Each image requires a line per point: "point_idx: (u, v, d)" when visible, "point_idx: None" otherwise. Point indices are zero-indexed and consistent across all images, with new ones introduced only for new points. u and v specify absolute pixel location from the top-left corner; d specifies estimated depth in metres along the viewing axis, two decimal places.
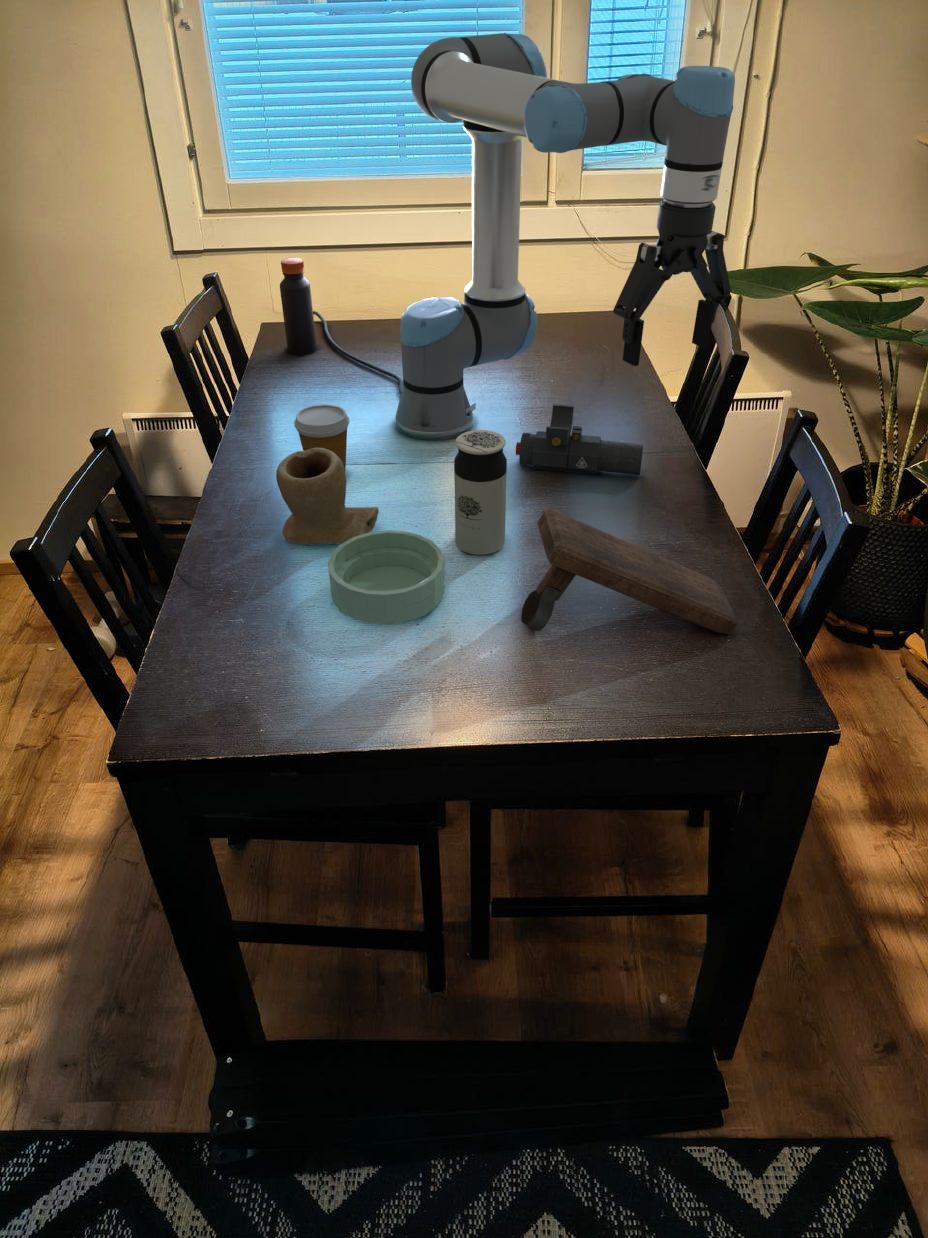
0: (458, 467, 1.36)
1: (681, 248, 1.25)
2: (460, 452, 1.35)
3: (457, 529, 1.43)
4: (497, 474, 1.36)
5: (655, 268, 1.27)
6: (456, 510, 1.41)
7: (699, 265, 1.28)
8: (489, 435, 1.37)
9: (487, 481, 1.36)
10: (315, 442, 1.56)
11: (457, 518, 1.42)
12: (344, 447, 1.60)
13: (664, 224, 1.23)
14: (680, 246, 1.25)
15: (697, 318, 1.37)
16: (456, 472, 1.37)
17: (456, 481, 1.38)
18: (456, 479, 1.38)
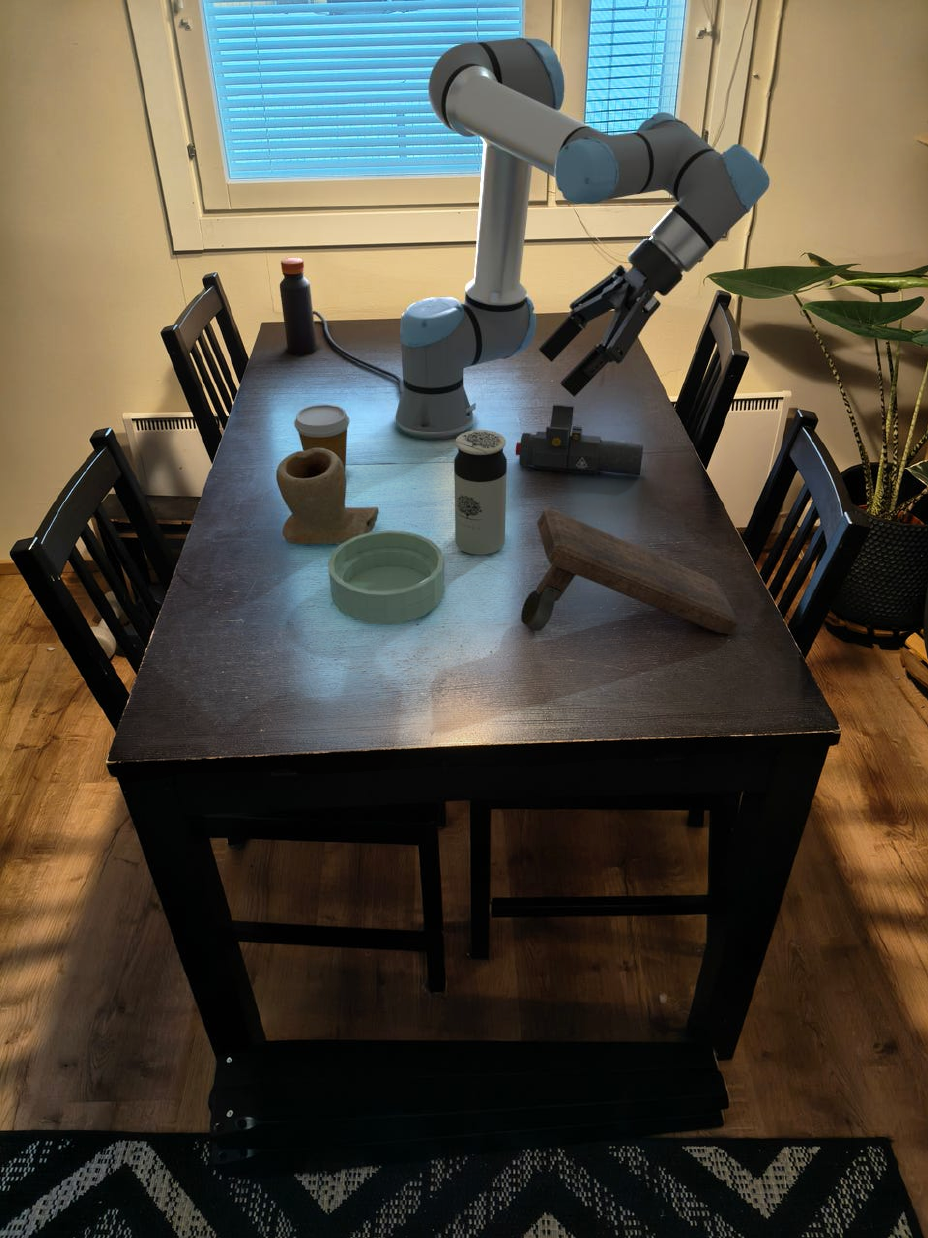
0: (458, 467, 1.36)
1: None
2: (460, 452, 1.35)
3: (457, 529, 1.43)
4: (497, 474, 1.36)
5: (626, 309, 1.24)
6: (456, 510, 1.41)
7: None
8: (489, 435, 1.37)
9: (487, 481, 1.36)
10: (315, 442, 1.56)
11: (457, 518, 1.42)
12: (344, 447, 1.60)
13: (661, 278, 1.22)
14: None
15: (559, 332, 1.35)
16: (456, 472, 1.37)
17: (456, 481, 1.38)
18: (456, 479, 1.38)
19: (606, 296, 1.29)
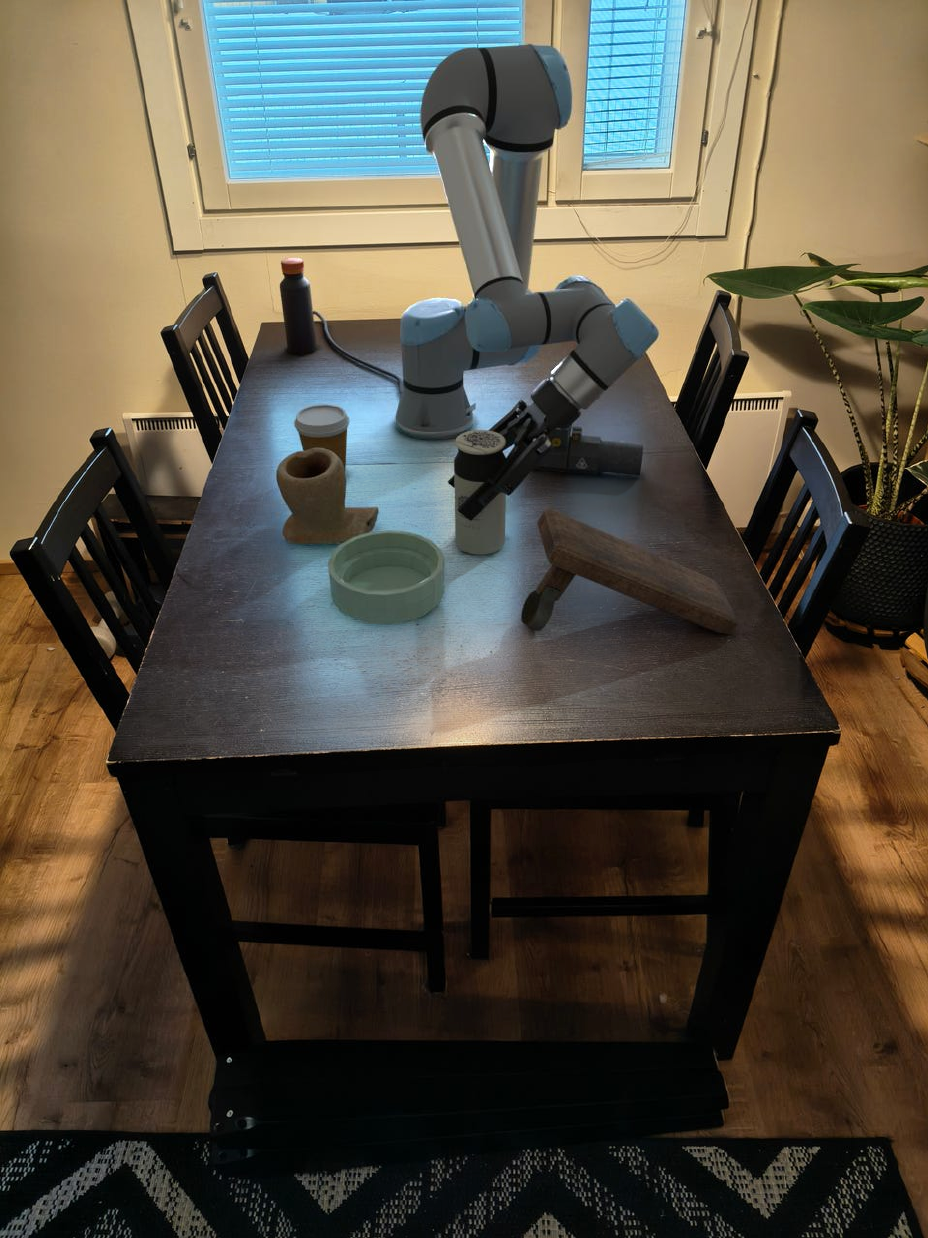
0: (458, 467, 1.36)
1: None
2: (460, 452, 1.35)
3: (457, 529, 1.43)
4: None
5: (524, 445, 1.34)
6: (456, 510, 1.41)
7: None
8: (489, 435, 1.37)
9: None
10: (315, 442, 1.56)
11: (457, 518, 1.42)
12: (344, 447, 1.60)
13: (559, 417, 1.32)
14: None
15: None
16: (456, 472, 1.37)
17: (456, 481, 1.38)
18: (456, 479, 1.38)
19: (512, 430, 1.38)
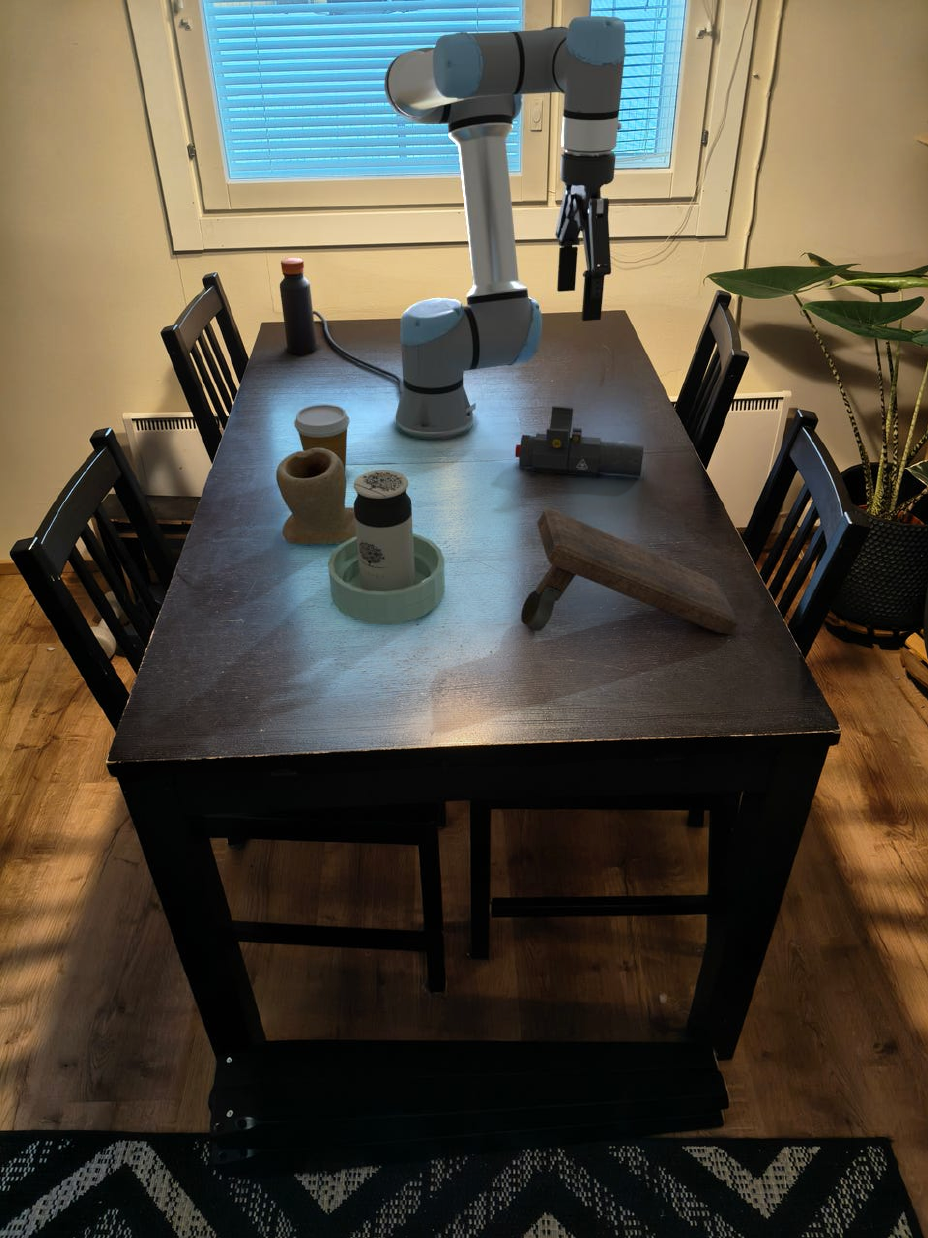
0: (357, 511, 1.25)
1: None
2: (358, 495, 1.24)
3: (361, 576, 1.32)
4: (399, 519, 1.24)
5: (588, 222, 1.28)
6: (359, 556, 1.30)
7: None
8: (391, 476, 1.25)
9: (387, 526, 1.24)
10: (315, 442, 1.56)
11: (360, 565, 1.30)
12: (344, 447, 1.60)
13: (595, 176, 1.25)
14: None
15: (562, 266, 1.42)
16: (355, 516, 1.26)
17: (356, 526, 1.27)
18: (356, 524, 1.26)
19: (571, 216, 1.34)
